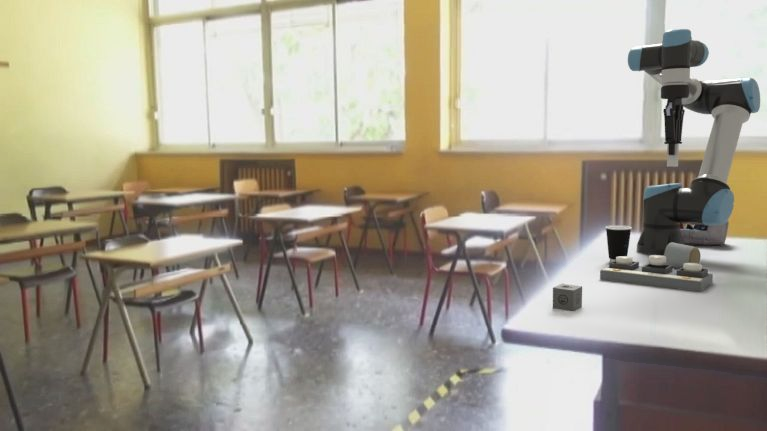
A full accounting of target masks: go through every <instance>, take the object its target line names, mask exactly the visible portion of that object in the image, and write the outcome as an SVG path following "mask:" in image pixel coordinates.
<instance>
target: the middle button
mask: <svg viewBox="0 0 767 431" xmlns="http://www.w3.org/2000/svg"><path fill="white" fill-rule="evenodd" d="M648 263H649V264H651V265H666V257H665V256H664V255H648Z"/></svg>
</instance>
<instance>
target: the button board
mask: <svg viewBox="0 0 767 431" xmlns="http://www.w3.org/2000/svg"><path fill="white" fill-rule="evenodd" d="M713 276H714V274H713V273H710V272H709V268H702V272H701V273H700V272H691V271H683V267H682V268H680V269H674V268H672V265H651V264H649V262H647V263H646V264H644V265H640V262H639V261H633V262H632V264H631V265H626V264H616V260H615V261H613V262H609V264H608V266H607V267H605V268H604V267H603V269H600V270H599V280H605V281H612V282H621V283H628V284H629V283H630V284H636V285H646V286H651V287H652V286H653V287H661V288H669V289H677V290H678V289H679V290H685V291H686V290H687V291H693V292H694V291H695V292H702V291H704V290H705V289H707V288H708V287H709V286H710V285H712V284H713V281H714V280H713V279H714V278H713Z"/></svg>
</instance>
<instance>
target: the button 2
mask: <svg viewBox="0 0 767 431" xmlns="http://www.w3.org/2000/svg"><path fill="white" fill-rule="evenodd" d="M702 269H703V265H702V264H701V263H699V264H698V263H684V265H683V271H691V272H700V273H701V272H702Z"/></svg>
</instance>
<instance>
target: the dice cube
mask: <svg viewBox="0 0 767 431" xmlns="http://www.w3.org/2000/svg"><path fill="white" fill-rule="evenodd" d="M582 307H583V285H582V286H581V285H576V284H575V285H574V284H566V283H560V284H558V285H555V286H553V288H552V309H554V310H558V311H559V310H562V311H567V312H572V313H573V312H575V311H577V310H579V309H581V308H582Z"/></svg>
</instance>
